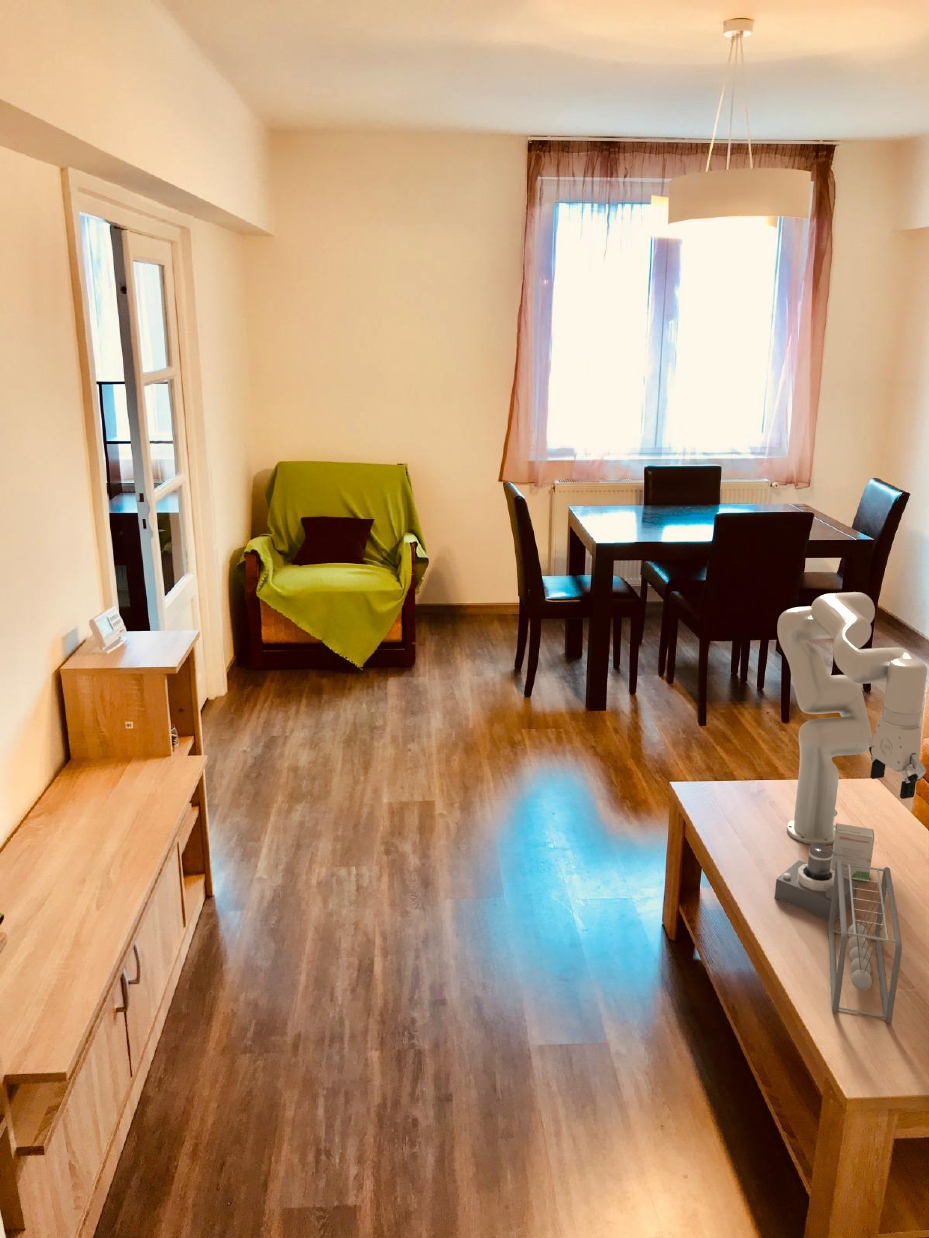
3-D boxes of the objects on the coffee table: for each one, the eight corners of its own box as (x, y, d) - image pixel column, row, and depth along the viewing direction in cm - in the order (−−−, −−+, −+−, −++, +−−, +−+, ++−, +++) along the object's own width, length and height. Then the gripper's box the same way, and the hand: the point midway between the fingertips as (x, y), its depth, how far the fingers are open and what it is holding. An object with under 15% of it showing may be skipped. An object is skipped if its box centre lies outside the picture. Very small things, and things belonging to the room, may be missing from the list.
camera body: (797, 878, 230) (799, 852, 228) (854, 902, 221) (858, 875, 219) (774, 897, 223) (777, 870, 221) (833, 922, 213) (836, 895, 211)
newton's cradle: (828, 926, 212) (836, 855, 207) (879, 935, 209) (889, 863, 204) (831, 1016, 185) (841, 936, 180) (891, 1028, 182) (903, 947, 176)
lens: (800, 876, 222) (804, 845, 219) (820, 873, 223) (823, 842, 221) (814, 888, 217) (818, 856, 215) (833, 884, 219) (837, 853, 216)
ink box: (830, 876, 231) (835, 832, 227) (829, 865, 236) (835, 821, 232) (868, 882, 228) (874, 838, 225) (867, 871, 233) (873, 827, 229)
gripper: (860, 702, 215) (851, 772, 220) (914, 733, 199) (903, 808, 204) (889, 699, 217) (880, 768, 222) (945, 729, 201) (933, 803, 206)
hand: (891, 787), depth 213 cm, fingers open, 9 cm apart
